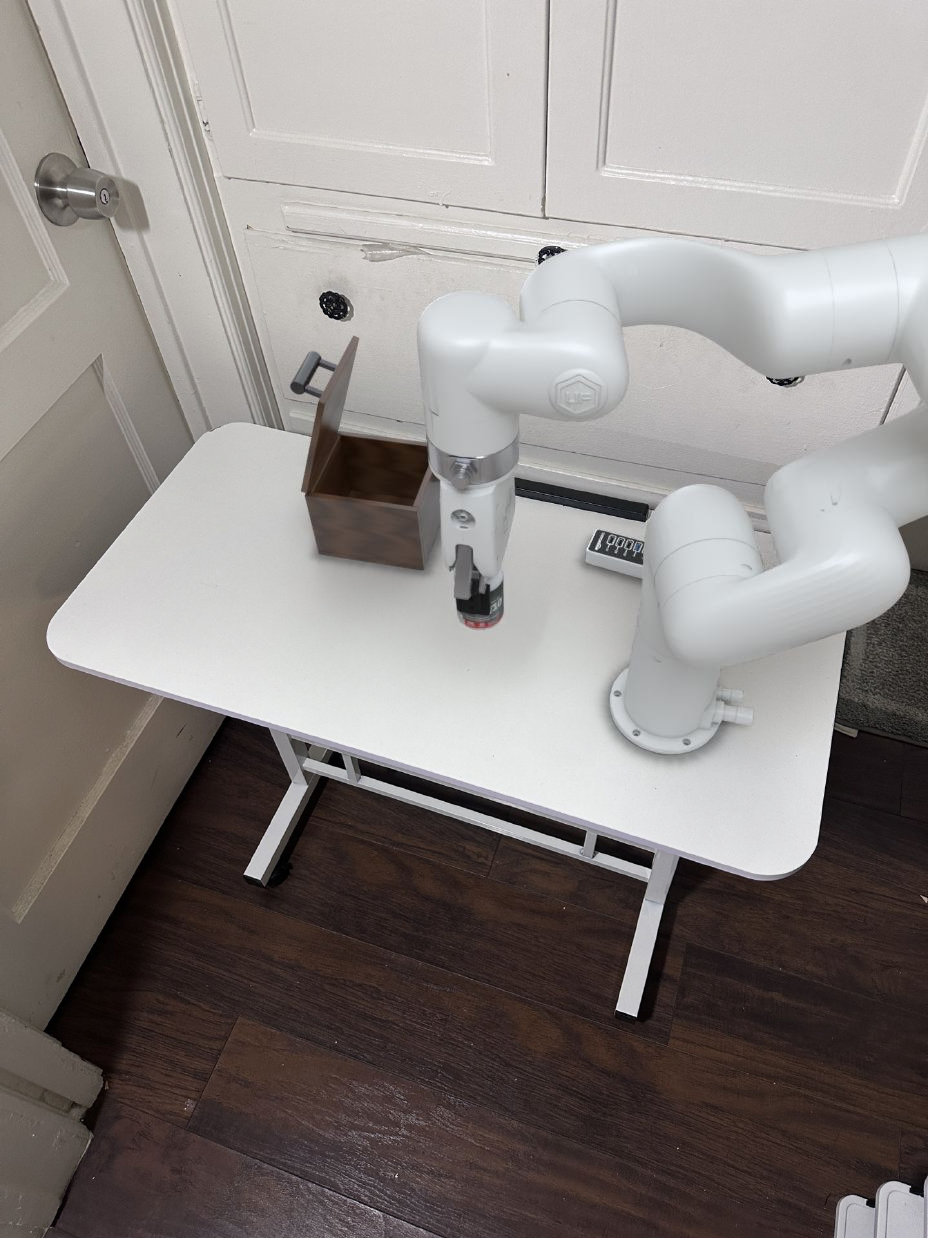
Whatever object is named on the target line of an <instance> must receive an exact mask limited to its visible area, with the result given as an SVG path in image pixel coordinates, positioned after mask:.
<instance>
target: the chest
mask: <svg viewBox="0 0 928 1238" xmlns="http://www.w3.org/2000/svg"><path fill="white" fill-rule="evenodd" d="M304 499H305V503H306V508H307V511H308V516H309V519H310V524H311V527H312V531H313V536H314V540H315V545H316V548H317V552H318V555H321V556H328V557H334V558H341V559H348V560H355V561H361V562H367V563H373V564H379V565H386V566H393V567H399V568H404V569H411V570H419V571H425V568H426V566H427V563H428V561H429V558H430V554H431V552H432V549H433V546H434V543H435V541H436V538H437V535H438V532H439V529H440V528H441V518H440V480H439V479H438V478H437V477H436V476H435V475H434V474H433V472H432V471H431V469H430V466H429V461H428V449H427V441H420V440H412V439H404V438H397V437H391V436H390V437H389V436H382V435H373V434H367V433H366V434H365V433H359V432H352V431H351V432H350V431H343V430H338V432H337V434H336V436H335V438H334V440H333V442H332V444H331V446H330V448H329V450H328V452H327V454H326V456H325V458H324V460H323V462H322V464H321V466H320V468H319V470H318V472H317V474H316V476H315V478H314V480H313V482H312V484H311V486H310V488H309V490H308V492H307V494H306V493H304Z"/></svg>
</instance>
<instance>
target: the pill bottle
mask: <svg viewBox="0 0 928 1238" xmlns="http://www.w3.org/2000/svg"><path fill="white" fill-rule="evenodd" d="M453 575H454V576H453V578H454V579H453V581H454V582H455V571H454V572H453ZM504 576H505V575H504V568H503V565H502V566H501V569H500V571H499V573H498V574H497V575H496V576H495V577H493V578H491V577H487V584H490V598H491V611H490V614H489V615H488V616H486V615H478V614H476V615H474V614H468V613H464V612H459V611H458V610H457V606H456V605H455V609H456V615H457V619H458V620H459V622H460V623H461V625H463V626H464V627H466V628H468V629H471V630H473V631H485V630H486V631H487V630H490V629H492V628H494V627H495V626H497V625H499V623H500V622H501V621H502V619H503V617H504V613H505V595H504V593H505V592H504V590H505V589H504V587H505V585H504V584H505V582H504V581H505V580H504V579H505V578H504ZM471 578H474V579H479V571H473V570H472V577H471Z"/></svg>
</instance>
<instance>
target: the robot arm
mask: <svg viewBox="0 0 928 1238" xmlns="http://www.w3.org/2000/svg"><path fill="white" fill-rule="evenodd" d="M518 307H519V308H518V309H519V310H518V311H519V312H518V313H519V317H518V316H517V314H516V311H515V310H514V308H513V307H512V306H511V304H509V303H508V302H507V301H506V300H504V299H503V298H501V297H499V296H498V295H495V294H493V293H490V292H486V291H481V290H459V291H453V292H450V293H447V294H445V295H442V296H440V297H437V298H436V299H435V300H433V301H432V302H430V303H429V304H428V305H427V306H426V307H425V309H424V310H423V311H422V313H421V314H420V316H419V319H418V322H417V327H416V346H417V355H418V365H419V376H420V386H421V387H420V388H421V396H422V406H423V414H424V415H423V417H424V429H425V438H426V442H427V449H428V461H429V466H430V469H431V471H432V472H433V474H434V475H435V476H436V477H437V478H438V479H439V480H440V518H441V524H440V538H441V539H440V540H441V551H442V559H443V564H444V567H445V568H446V569H447V571H448V572H449V573H451V572H452V571H454V572H455V581H454V589H453V598H454V599H455V607H456V606H457V610H458V611H459V612H464V613H468V614H474V615H476V614H478V615H486V616H488V615H489V614H490V611H491V598H490V584H487V577H491V578H493V577H495V576H496V575H497V574H498V573H499V571H500V569H501V566H502V567H503V562H504V558H505V554H506V550H507V546H508V543H509V538H510V535H511V530H512V525H513V523H514V522H513V521H514V517H515V511H516V487H515V486H516V485H515V483H516V482H515V472H516V469H517V468H518V466H519V463H520V414H522V415H527V416H531V417H537V418H540V419H541V418H542V419H547V420H553V421H558V422H565V423H566V422H569V423H582V422H590V421H591V422H592V421H595V420H598V419H601V418H604V417H605V416H607V415H609V414H610V413H612V412H613V411H615V410H616V409H617V408H618V406H619V405H620V404H621V402H622V401H623V400H624V398H625V396H626V394H627V391H628V386H629V381H630V367H629V361H628V354H627V349H626V345H625V339H624V336H625V335H624V332H623V331H624V330H623V328H627V327H629V328H630V327H635V326H646V325H647V326H648V325H651V326H652V325H655V326H656V325H657V326H659V325H660V326H667V327H668V326H669V327H675V328H680V329H683V330H684V329H685V330H687V331H690V332H693V333H696V334H698V335H700V336H703V337H704V338H706V339H708V340H710V341H712V342H713V343H715V344H716V345H718V346H719V347H721V348H722V349H724V350H725V351H726V352H727V353H729V354H730V355H731V356H733V358H736V359H737V360H738V361H740V362H742V363H743V364H744V365H745V366H747V367H749V368H751V369H752V370H754V371H755V372H757V373H759V374H760V375H762V376H764V377H767V378H770V379H772V380H773V379H774V380H785V379H791V378H792V379H793V378H798V377H805V376H811V375H819V374H825V373H831V372H838V371H846V370H852V369H860V368H868V367H875V366H884V365H892V364H901V365H903V367H904V368H905V370H906V372H907V374H908V377H909V379H910V381H911V382H912V385H913V387H914V389H915V391H916V393H917V395H918V397H919V399H920V400H921V402H922V403H921V404H920V405H917V406H916V407H915V408H913V409H912V410H910V411H908V412H906V413H904V414H901V415H900V416H897V417H895V418H893V419H891V420H889V421H887V422H885V423H883V424H880V425H878V426H875V427H873V428H870V429H868V430H866V431H862V432H860V433H858V434H855V435H853V436H850V437H848V438H845V439H843V440H841V441H838V442H836V443H833V444H830V445H827V446H826V447H823V448H820V449H818V450H815V451H813V452H811V453H809V454H806V455H803V456H802V457H800V458H799V457H798V458H797V459H795V460H793V461H790V462H788V463H787V464H786V465H783V466H782V467H780V468H778V470H776V471H775V472H773V474H772V475H771V477H770V478H769V479H768V480H767V482H766V484H765V488H764V492H763V506H764V513H765V517H766V521H767V524H768V529H769V532H770V535H771V539H772V542H773V546H774V549H775V553H776V556H777V560H778V565H776V566H774V567H772V568H770V569H767V570H765V567H764V560H763V557H762V552H761V549H760V545H759V541H758V539H757V534H756V532H755V529H754V526H753V522H752V520H751V518H750V515H749V513H748V511H747V509H746V508H745V507H744V505H743V504H742V502H741V501H740V500H739V499H738V498H737V497H736V496H735V495H734V494H733V493H732V492H730V491H728V490H727V489H725V488H723V487H720V486H718V485H714V484H711V483H710V484H709V483H693V484H689V485H685V486H683V487H680V488H678V489H675V490H673V491H672V492H670V493H669V494H667V496H666V497H664V498H663V499H662V500H661V502H659V503H658V505H656V507H655V509H654V510H653V512H652V514H651V515H650V517H649V520H648V522H647V525H646V529H645V533H644V540H643V541H644V554H643V577H642V579H641V589H640V599H639V605H638V611H637V616H636V620H635V625H634V626H635V627H634V634H633V639H632V644H631V645H632V646H631V651H630V657H629V663H628V666H627V667H626V668H624V670H622V671H621V672H620V673H619V674H618V675H617V676H616V679H615V680H614V682H613V684H612V686H611V689H610V695H609V710H610V714H611V718H612V720H613V722H614V724H615V726H616V728H617V729H618V730H619V732H620V733H621V734H622V735H623V736H624V737H625V738H626V739H627V740H629V741H630V742H632V744H634V745H636V746H638V747H639V748H642V749H644V750H646V751H649V752H653V753H656V754H663V755H681V754H686V753H689V752H693V751H695V750H697V749H699V748H701V747H703V746H704V745H706V743H708V742H710V740H711V739H712V738H713V737H715V734H716V733H717V730H719V727H720V724H722V721H724V722H729V723H734V724H735V725H742V726H748V727H751V726H752V724H753V722H754V721H753V720H754V712H755V710H754V708H751V707H744V706H740V705H739V706H738V705H737V706H735V705H728V704H725V701H729V702H732V703H739V704H742V703H743V698H744V691H743V690H740V689H732V688H731V689H729V688H724V687H723V685H721V684H718V683H719V678H720V675H721V670H722V669H725V668H729V667H730V668H731V667H735V666H739V665H742V664H746V663H750V662H753V661H756V660H759V659H763V658H766V657H769V656H772V655H776V654H779V653H782V652H785V651H788V650H792V649H795V648H797V647H801V646H803V645H807V644H810V643H814V642H817V641H819V640H822V639H825V638H829V637H832V636H835V635H838V634H841V633H842V634H843V633H845V632H848V631H851V630H854V629H856V628H858V627H861V626H863V625H866V624H868V623H870V622H872V621H873V620H876V618H879V617H880V616H881V615H883V614H884V613H886V612H887V611H888V610H889V609H891V608H892V607H893V606H894V605H895V604H896V603H897V602H898V601H899V600H900V599H901V597H902V596H903V595H904V593H905V591H906V590H907V588H908V585H909V583H910V577H911V562H910V557H909V553H908V551H907V548H906V545H905V542H904V541H903V538H902V535H901V532H900V530H899V528H901V527H902V526H904V525H907V524H909V523H912V522H914V521H917V520H919V519H921V518H924V517H926V516H928V230H927V231H922V232H916V233H909V234H903V235H897V236H890V237H883V238H877V239H872V240H871V239H870V240H865V241H859V242H853V243H846V244H840V245H833V246H825V247H821V248H815V249H809V250H803V251H797V252H790V253H782V254H781V253H780V254H770V255H769V254H758V253H753V252H750V251H746V250H742V249H739V248H734V247H731V246H725V245H719V244H715V243H707V242H703V241H697V240H692V239H688V238H680V237H673V236H641V237H631V238H624V239H619V240H612V241H606V242H599V243H595V244H589V245H584V246H580V247H576V248H571V249H568V250H564V251H562V252H560V253H557V254H555V255H553V256H551V257H549V258H548V259H545V260H544V261H542V262H541V263H540V264H538V265H537V266H536V267H535V268H534V269H532V271H531V272H530V274H529V275H528V277H526V279H525V282H524V284H523V285H522V288H521V291H520V296H519V304H518ZM472 570H473V571H479V579H474V578H471V577H472ZM457 610H456V611H457Z"/></svg>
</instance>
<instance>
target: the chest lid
mask: <svg viewBox="0 0 928 1238" xmlns="http://www.w3.org/2000/svg"><path fill="white" fill-rule="evenodd" d="M359 342H360V337H359V336H356V335H352V337H351V339H350V341H349V342H348V345H347V346H346V348H345V350H344V352H343V354H342V356H341V357H340V359H339V361H338V363H337V364H336V363H334V362H331V361H328V360H325V359H323V358H322V355H321V354H320V353H318V352H317V351H314V350H311V351H309V352H307V354H306V356H305V358H304V359H303V361H302V363H301V365H300V367H299V368H298V370H297V371H296V373H295V375H294V377H293V379H292V381H291V382H290V384H289V389H290V391H292V392H293V393H294V394H295V395H299V396H301V395H304V394H307V395H309V396H312V397H315V398H317V399H318V400H317V406H316V410H315V416H314V421H313V426H312V432H311V437H310V441H309V448H308V451H307V457H306V461H305V467H304V473H303V477H302V483H301V489H300V492H301V493H303V494H307V492H308V490H309V488H310V486H311V484H312V482H313V480H314V478H315V476H316V474H317V472H318V470H319V468H320V466H321V464H322V462H323V460H324V458H325V456H326V454H327V452H328V450H329V448H330V446H331V444H332V442H333V440H334V438H335V436H336V434H337V432H338V431H340V425H341V422H342V417H343V412H344V408H345V404H346V399H347V394H348V391H349V386H350V382H351V377H352V373H353V368H354V365H355V364H354V363H355V358H356V355H357V350H358V346H359ZM319 367H320V368H321V369H324V370H327V371H330V372H332V375H331V377H330V378H329V380H328V382H327V384H326V385H325V388H324V389H323V390H321V389H319V388H317V387H314V386H312V385H310V383H311V381H312V380H313V378H314V376H315V374H316V373H317V370H318V369H319Z"/></svg>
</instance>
